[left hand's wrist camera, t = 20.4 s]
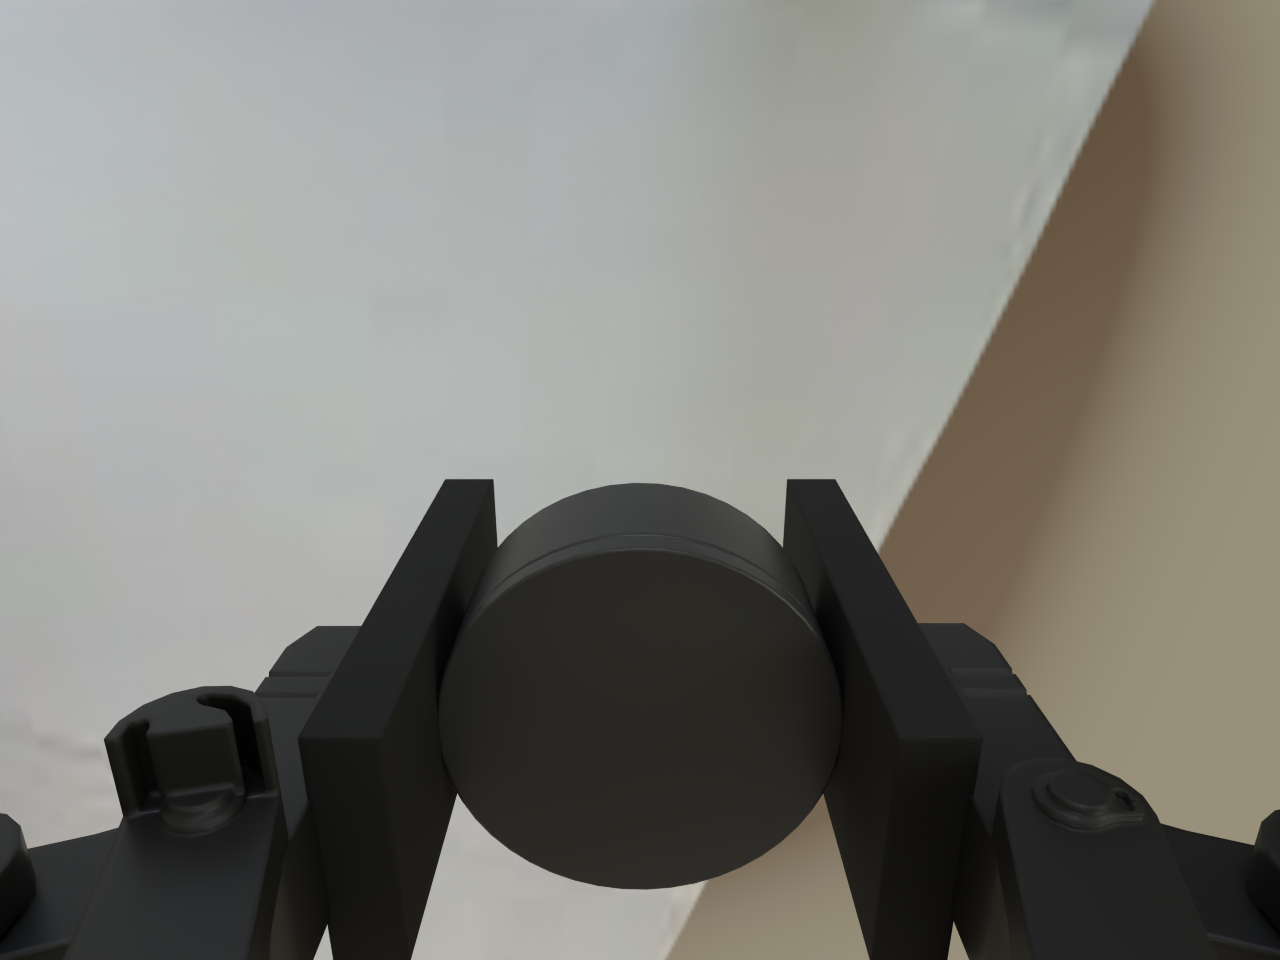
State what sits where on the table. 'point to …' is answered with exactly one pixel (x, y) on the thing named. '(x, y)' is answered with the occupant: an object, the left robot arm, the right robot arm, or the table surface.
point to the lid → (640, 690)
